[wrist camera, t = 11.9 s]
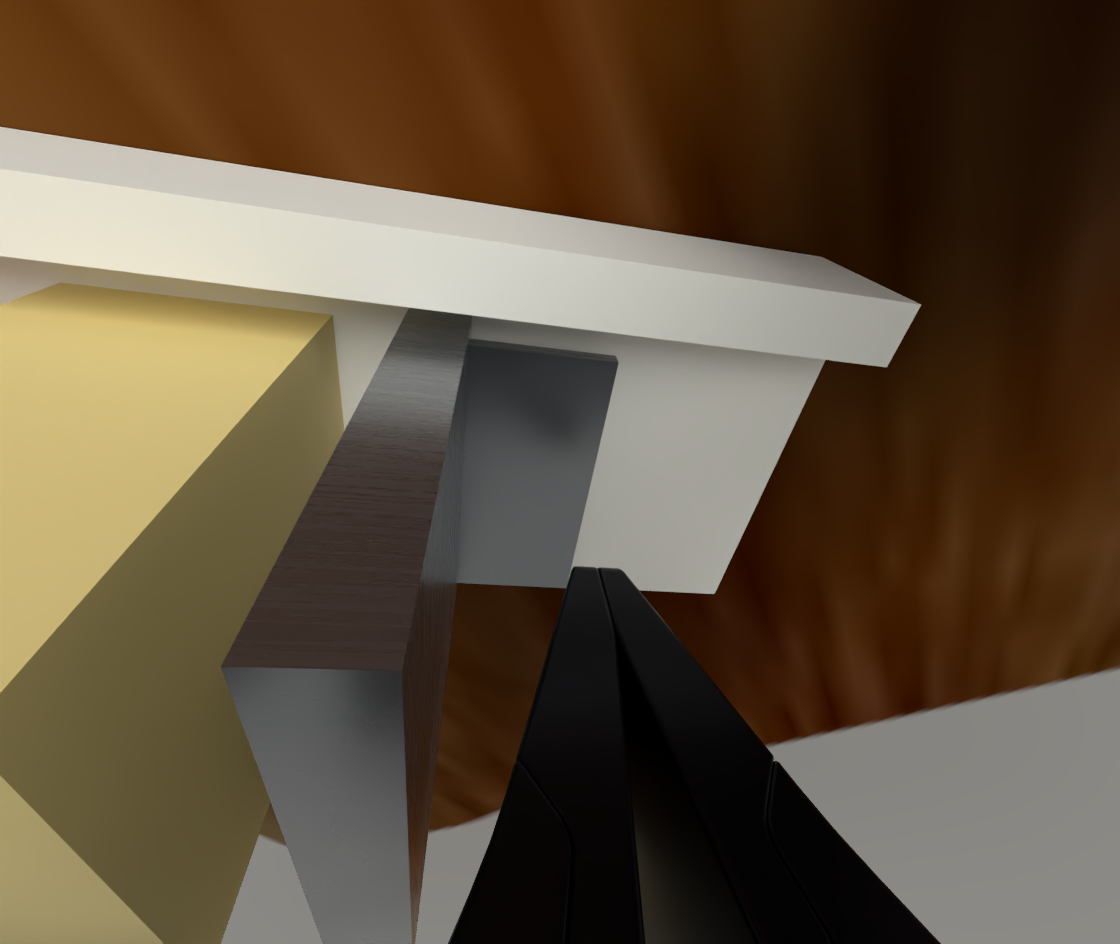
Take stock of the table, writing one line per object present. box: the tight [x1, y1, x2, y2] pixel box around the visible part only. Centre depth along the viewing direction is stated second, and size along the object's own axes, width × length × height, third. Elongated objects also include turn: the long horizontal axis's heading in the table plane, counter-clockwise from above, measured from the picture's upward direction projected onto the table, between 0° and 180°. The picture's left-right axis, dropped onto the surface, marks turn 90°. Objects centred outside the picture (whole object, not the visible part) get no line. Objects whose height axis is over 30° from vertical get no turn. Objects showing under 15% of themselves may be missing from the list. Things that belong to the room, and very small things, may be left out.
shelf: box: [0, 127, 921, 594], centre depth 8 cm, size 20×8×7 cm, turn 81°
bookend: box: [221, 308, 619, 944], centre depth 8 cm, size 4×6×6 cm, turn 171°
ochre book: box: [0, 282, 344, 944], centre depth 7 cm, size 4×6×7 cm
